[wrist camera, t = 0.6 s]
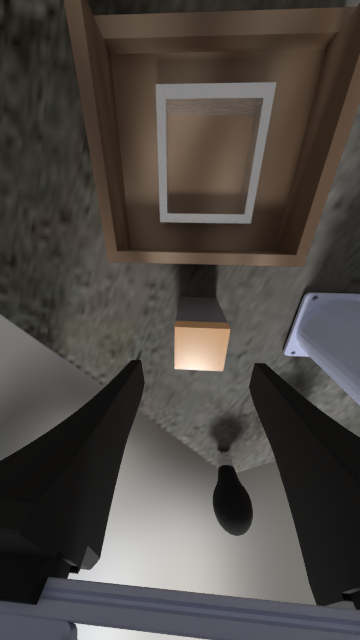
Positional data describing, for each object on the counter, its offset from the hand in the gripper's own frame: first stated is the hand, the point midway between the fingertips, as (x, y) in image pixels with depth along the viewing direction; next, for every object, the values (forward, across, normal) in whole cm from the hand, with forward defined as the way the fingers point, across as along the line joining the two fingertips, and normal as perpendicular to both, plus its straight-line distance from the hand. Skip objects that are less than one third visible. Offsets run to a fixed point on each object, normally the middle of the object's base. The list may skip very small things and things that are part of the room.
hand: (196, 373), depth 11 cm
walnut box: (+9, -1, -12) cm, 16 cm away
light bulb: (+10, -6, +29) cm, 31 cm away
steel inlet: (+9, -1, -12) cm, 16 cm away
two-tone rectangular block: (+9, 0, 0) cm, 9 cm away
